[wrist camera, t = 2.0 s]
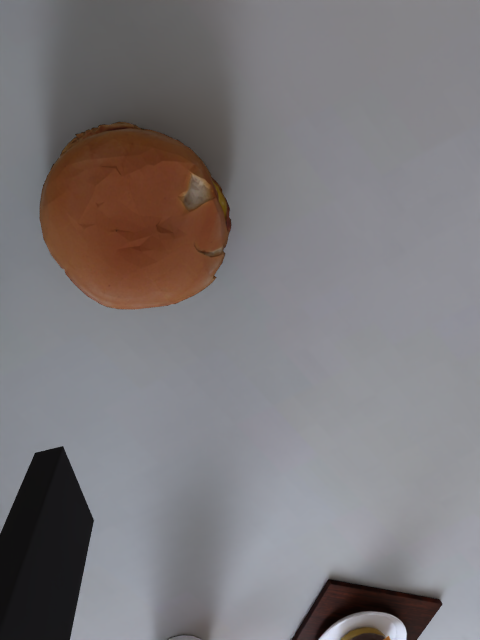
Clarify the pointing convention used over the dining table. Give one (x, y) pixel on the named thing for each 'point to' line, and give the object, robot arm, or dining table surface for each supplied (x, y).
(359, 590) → the hamburger
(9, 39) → the dining table surface
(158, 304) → the burger
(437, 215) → the dining table surface
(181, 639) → the beverage cup
